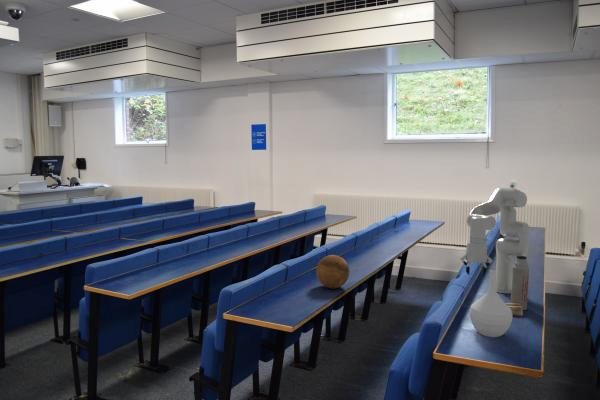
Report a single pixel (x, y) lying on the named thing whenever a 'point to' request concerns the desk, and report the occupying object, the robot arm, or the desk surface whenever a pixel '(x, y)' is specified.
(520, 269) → the thermos bottle
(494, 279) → the vase
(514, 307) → the rail
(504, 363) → the desk surface
